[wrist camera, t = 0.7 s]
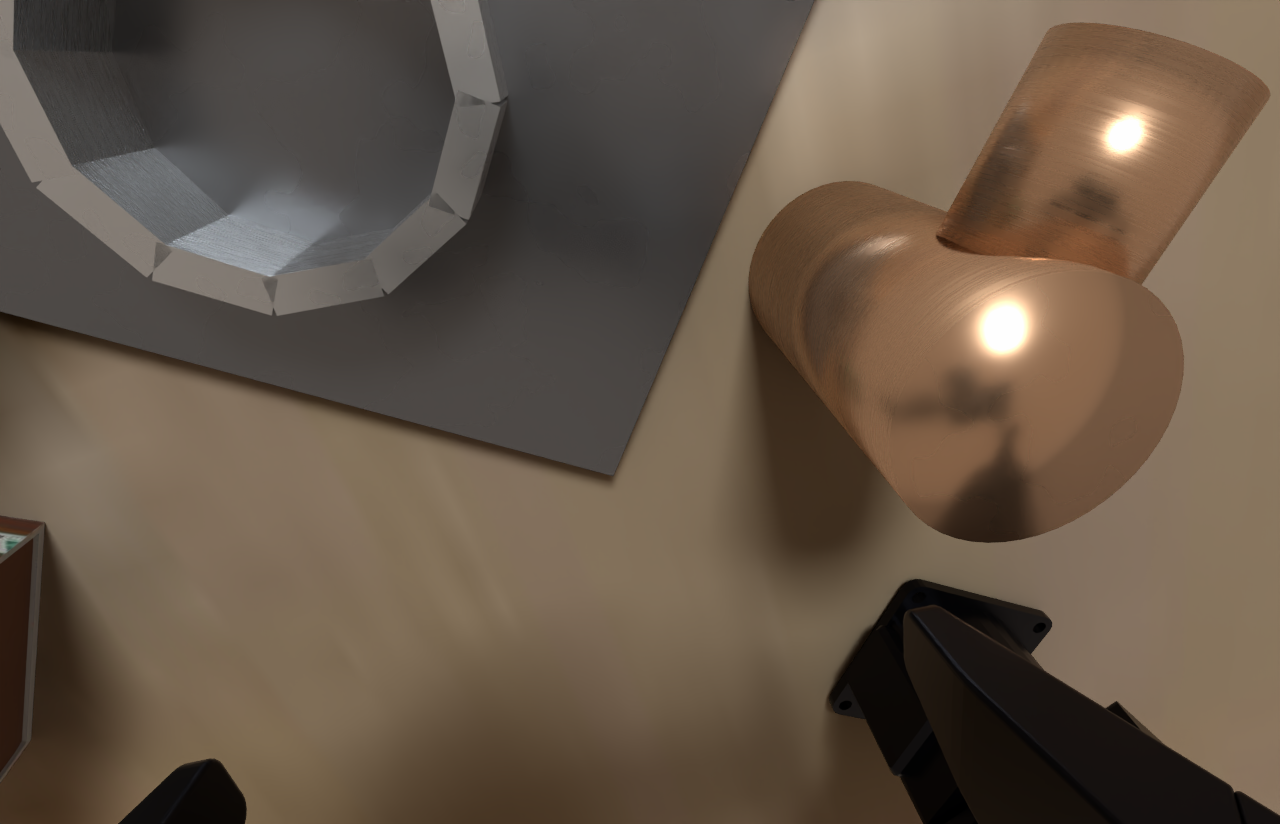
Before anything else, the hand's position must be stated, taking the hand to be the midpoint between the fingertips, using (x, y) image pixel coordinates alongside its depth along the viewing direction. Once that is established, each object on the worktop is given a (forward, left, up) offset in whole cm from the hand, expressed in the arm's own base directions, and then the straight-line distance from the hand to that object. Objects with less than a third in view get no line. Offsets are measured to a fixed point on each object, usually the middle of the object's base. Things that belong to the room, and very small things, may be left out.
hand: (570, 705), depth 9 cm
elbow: (-7, -6, -12) cm, 15 cm away
